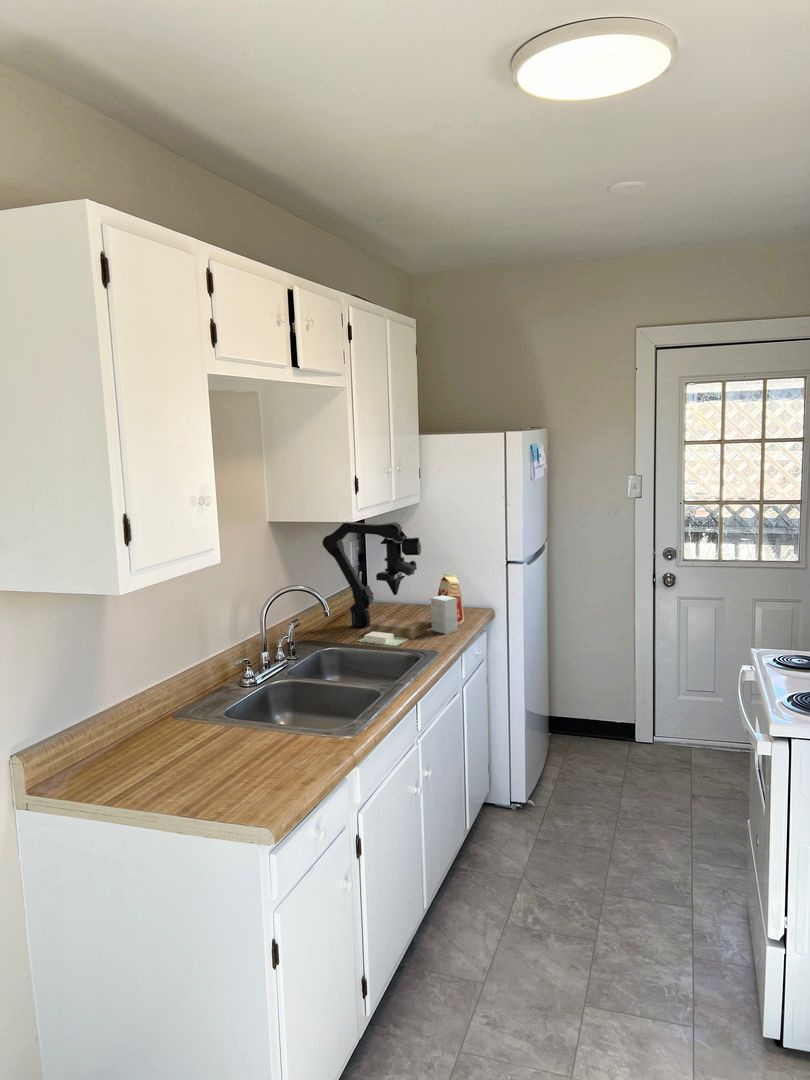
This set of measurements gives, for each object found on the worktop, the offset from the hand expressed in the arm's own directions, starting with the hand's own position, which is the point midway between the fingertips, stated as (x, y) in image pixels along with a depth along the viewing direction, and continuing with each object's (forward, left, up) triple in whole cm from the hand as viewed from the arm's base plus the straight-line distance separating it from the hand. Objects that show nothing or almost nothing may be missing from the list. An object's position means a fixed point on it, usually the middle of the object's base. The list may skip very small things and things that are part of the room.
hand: (395, 594), depth 313 cm
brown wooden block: (+5, -8, -13) cm, 16 cm away
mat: (+5, -19, -13) cm, 23 cm away
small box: (+20, +2, -13) cm, 24 cm away
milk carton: (+16, +15, -13) cm, 26 cm away
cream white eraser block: (+4, -19, -11) cm, 22 cm away
